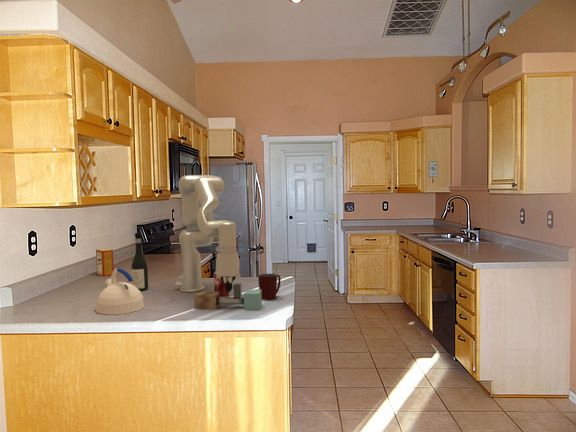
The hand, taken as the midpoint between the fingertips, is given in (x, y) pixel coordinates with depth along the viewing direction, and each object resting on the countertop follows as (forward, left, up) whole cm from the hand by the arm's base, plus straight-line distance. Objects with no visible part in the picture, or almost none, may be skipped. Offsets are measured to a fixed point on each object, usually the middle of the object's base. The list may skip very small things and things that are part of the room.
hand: (228, 291), depth 199 cm
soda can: (-8, +19, -7) cm, 22 cm away
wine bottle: (-55, +34, -7) cm, 65 cm away
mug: (+16, +17, -7) cm, 25 cm away
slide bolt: (-1, 0, -6) cm, 6 cm away
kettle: (-49, -2, -8) cm, 49 cm away
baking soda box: (-94, +74, -7) cm, 120 cm away
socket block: (+11, 0, -7) cm, 13 cm away
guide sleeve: (-10, 0, -7) cm, 12 cm away
